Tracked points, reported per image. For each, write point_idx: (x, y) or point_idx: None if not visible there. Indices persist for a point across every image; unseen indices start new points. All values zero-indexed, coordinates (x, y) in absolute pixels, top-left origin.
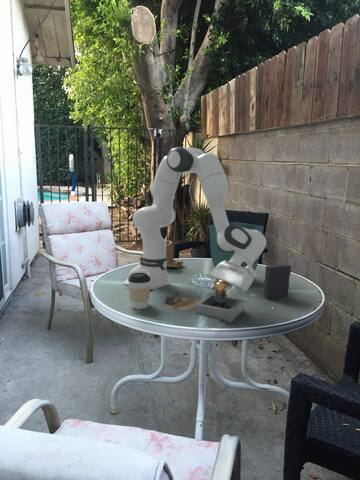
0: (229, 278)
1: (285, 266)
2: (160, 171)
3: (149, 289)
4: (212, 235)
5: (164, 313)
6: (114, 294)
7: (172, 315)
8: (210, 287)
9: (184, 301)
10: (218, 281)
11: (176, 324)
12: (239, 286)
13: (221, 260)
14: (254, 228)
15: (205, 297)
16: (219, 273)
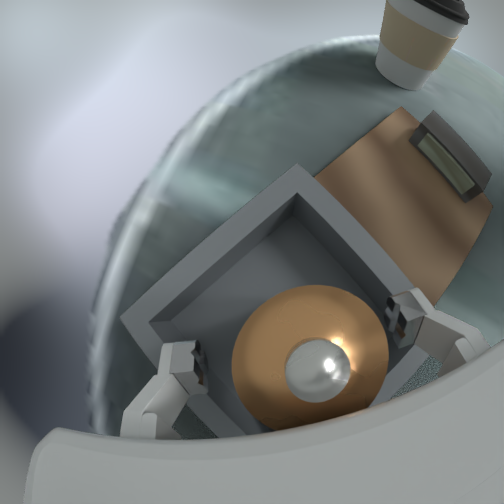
0: (255, 490)
1: None
2: None
3: (417, 34)
4: None
5: (356, 107)
6: (489, 85)
7: (330, 121)
8: (413, 289)
9: (444, 205)
10: (374, 351)
11: (237, 108)
12: (53, 429)
13: None
14: None
15: (401, 275)
16: (498, 411)
